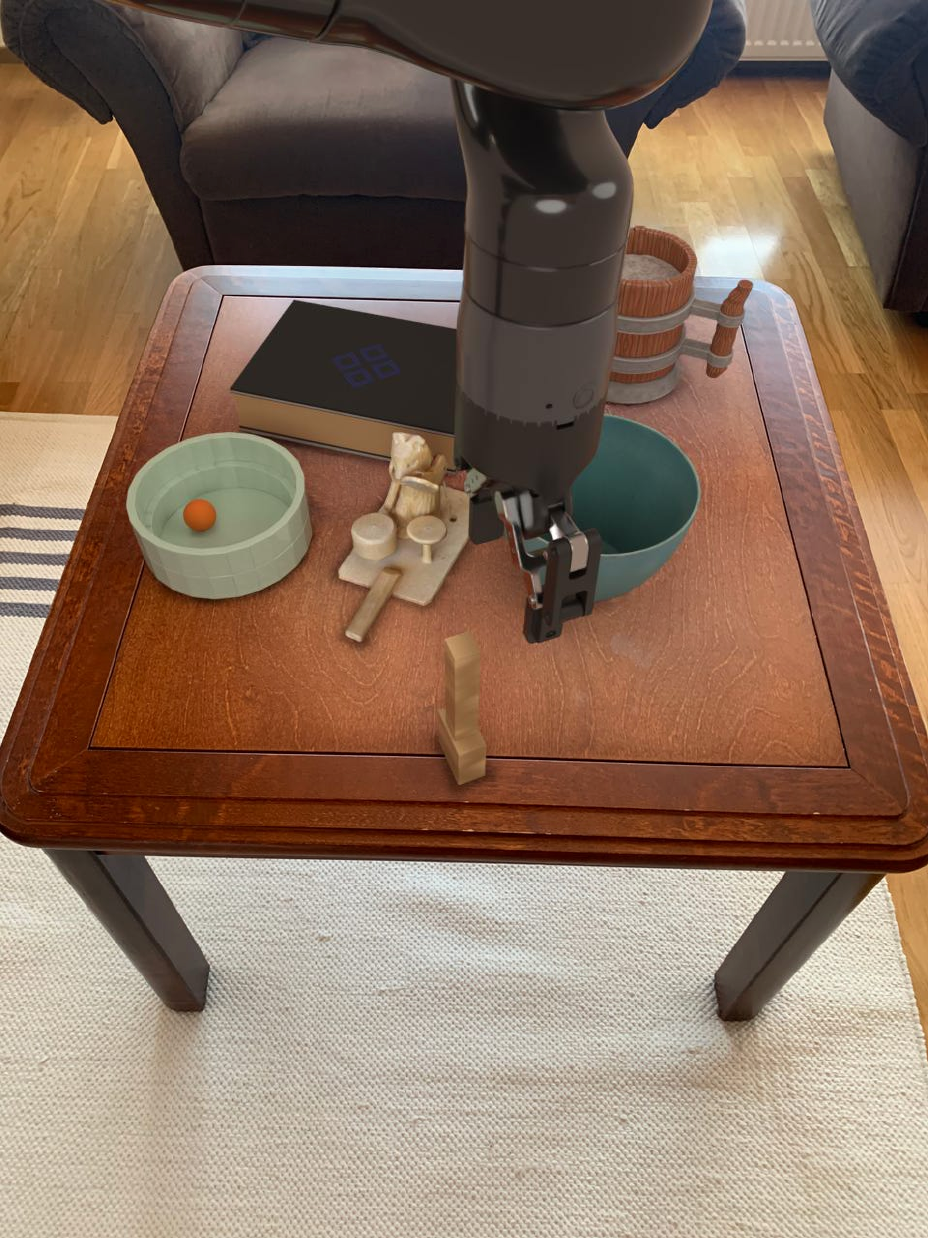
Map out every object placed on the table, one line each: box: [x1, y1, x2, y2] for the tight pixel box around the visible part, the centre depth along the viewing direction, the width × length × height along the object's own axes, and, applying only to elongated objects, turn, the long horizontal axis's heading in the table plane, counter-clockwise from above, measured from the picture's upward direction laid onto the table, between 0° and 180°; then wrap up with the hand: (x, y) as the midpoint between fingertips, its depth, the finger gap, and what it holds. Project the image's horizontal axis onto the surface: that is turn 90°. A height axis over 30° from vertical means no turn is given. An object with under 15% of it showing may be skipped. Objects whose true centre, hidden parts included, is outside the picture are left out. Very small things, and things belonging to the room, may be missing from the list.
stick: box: [437, 630, 488, 786], centre depth 71 cm, size 2×4×16 cm, turn 23°
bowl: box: [125, 431, 313, 600], centre depth 90 cm, size 17×17×7 cm
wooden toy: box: [337, 431, 470, 643], centre depth 86 cm, size 22×10×14 cm, turn 155°
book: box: [229, 299, 458, 477], centre depth 103 cm, size 17×25×7 cm
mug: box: [606, 224, 754, 405], centre depth 104 cm, size 14×19×15 cm
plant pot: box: [503, 413, 702, 603], centre depth 86 cm, size 18×18×12 cm
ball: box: [183, 499, 216, 532], centre depth 91 cm, size 3×3×3 cm
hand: (512, 585), depth 57 cm, fingers open, 8 cm apart
